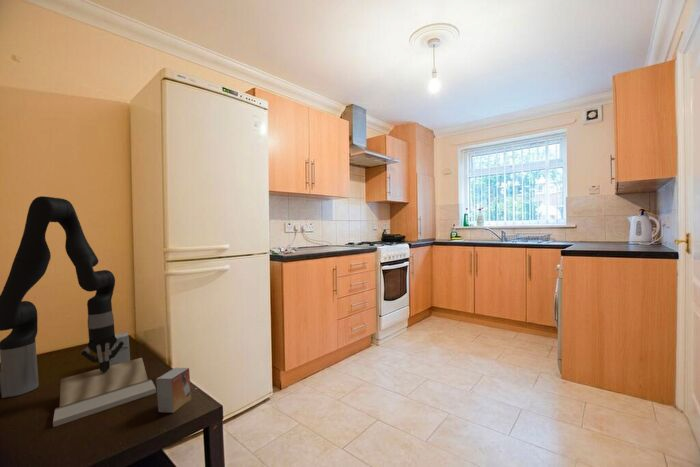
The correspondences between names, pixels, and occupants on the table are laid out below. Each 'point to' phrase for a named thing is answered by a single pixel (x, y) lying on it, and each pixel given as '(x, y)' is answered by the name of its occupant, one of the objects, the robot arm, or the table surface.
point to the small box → (173, 390)
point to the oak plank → (101, 381)
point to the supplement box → (121, 350)
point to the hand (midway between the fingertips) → (104, 371)
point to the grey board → (102, 402)
